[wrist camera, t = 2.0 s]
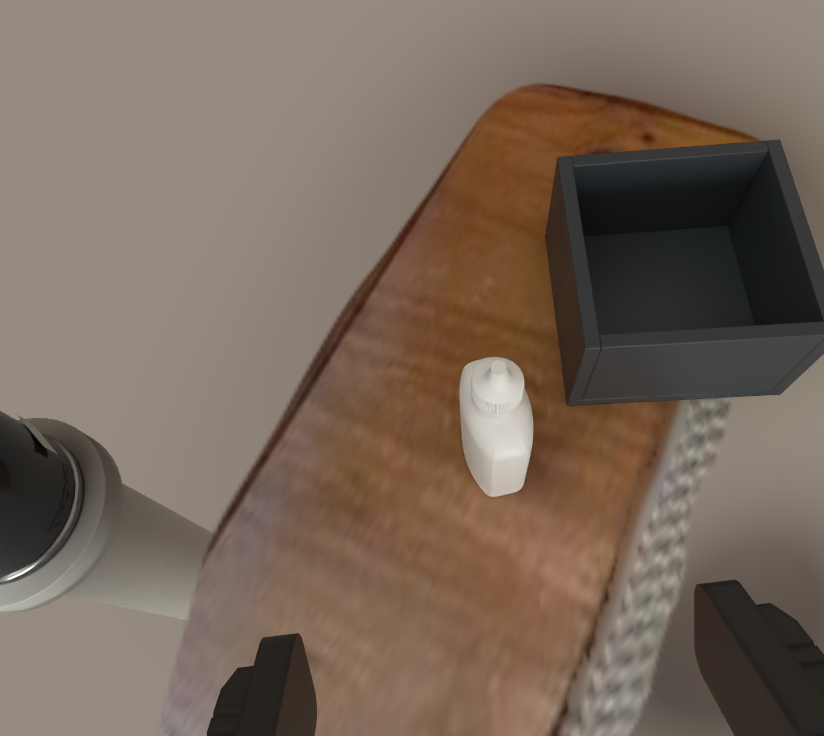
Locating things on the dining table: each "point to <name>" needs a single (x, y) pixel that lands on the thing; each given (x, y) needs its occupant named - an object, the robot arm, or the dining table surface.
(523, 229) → the dining table surface
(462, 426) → the eye dropper bottle
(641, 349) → the bin
